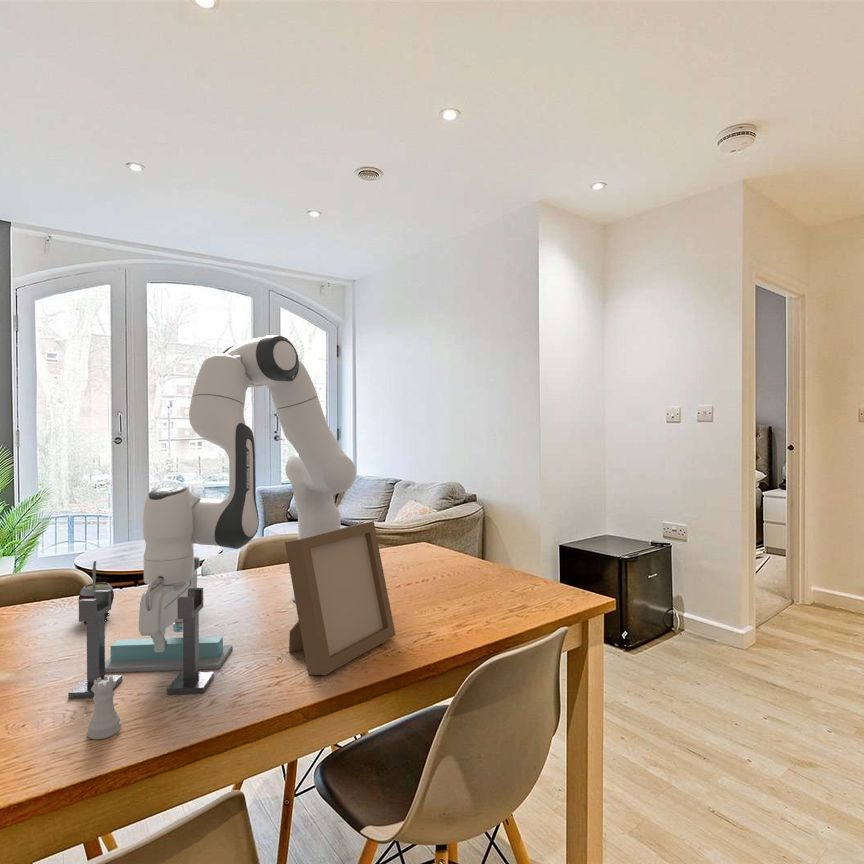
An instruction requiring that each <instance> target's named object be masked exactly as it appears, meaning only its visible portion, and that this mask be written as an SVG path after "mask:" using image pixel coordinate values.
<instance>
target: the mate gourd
mask: <svg viewBox="0 0 864 864" xmlns="http://www.w3.org/2000/svg"><path fill="white" fill-rule="evenodd" d="M91 572H92V583H90V584H86V585H84V586H83V587H82V589H80V590H81V591H80V592H79V596H78V602H79V601H80V600H81V599H94V592H95V591H96V590H111V606H112V605H113V602H114V599H115V597H114V596H115V594H114V592H115V591H114V590H113V589H114V588H113V587H112V585H111V584H110V583H108V582H104V581H102V582H96V579H97V577H96V573H97V561H96V560H95V561H93V562H92V569H91ZM108 614H109V615H110V612H109V611H108V612H106V613H105V620H107V619H108V620H109V618H107V616H106V615H108ZM108 620H107V621H108ZM84 623H87V621H86V622H83V624H84Z"/></svg>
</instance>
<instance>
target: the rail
mask: <svg viewBox="0 0 864 864" xmlns="http://www.w3.org/2000/svg"><path fill="white" fill-rule="evenodd" d="M165 640H167V648H166V649H165V650H164V651H163V652H155V651H154V642H153V640H152V638H126V639H124V638H123V639H117V640H116V641H114V642H113V643H112V644H111V645H110V657H111V661H135V660H165V659H183V637H165ZM223 645H224V637H223V636H222V635H221V636H219V635H218V636H199V658H219V656H220V655H221V653H222V652H223Z"/></svg>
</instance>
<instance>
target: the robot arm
mask: <svg viewBox="0 0 864 864" xmlns="http://www.w3.org/2000/svg"><path fill="white" fill-rule="evenodd" d="M263 386H265V387H267V388H268V390H269V392H270V395H271V397H272V401H273V405H274V409H275V411H276V414H277V416H278V419H279V423H280V425H281V428H282V432H283V434H284V436H285V438H286V439H287V441H288V442H289V443H290V444H291V445H292V447H293V448H294V450H295V451H296V452H294V453H293V454H292V455H291V456H289V457H288V459H287V461H286V465H285V474H286V477H287V479H288V481H289V482H290V484H291V489H292V492H293V497H294V502H295V506H296V511H297V512H296V513H297V536H298V537H297V539H300V538H304V537H308V536H312V535H316V534H320V533H324V532H328V531H332V530H336V529H340V528H342V525H341V518H342V517H341V513H340V510H339V508H338V507H337V505H336V503H335V500H334V496H333V495H335V494H340V493H344V492H347V491H348V490H349V489H350V488H352V486H353V484H354V482H355V480H356V479H357V478H356V477H357V469H356V465H355V463H354V462H353V460H352V459H351V458H350V457H349V456H348V455H347V454H346V453H345V452H344V451H343V449H342V447H341V446H340V444H339V443H338V441H337V439H336V438H335V436H334V434H333V432H332V430H331V429H330V427H329V424H328V423H327V420H326V417H325V414H324V411H323V408H322V405H321V403H320V399H319V397H318V393H317V390H316V387H315V385H314V383H313V380H312V378H311V376H310V374H309V372H308V370H307V368H306V367H305V365H304V364H303V362H302V361H300V360H299V355H298V351H297V350H296V347H295V346H294V345H293V343H292V342H291V341H290V340H289V339H288V338H287V337H285V336H283V335H279V334H275V335H274V334H271V335H265V336H262V337H257V338H252V339H248V340H245V341H244V342H242V343H239V344H236V345H232V346H229V347H227V348H225V350H223V351H222V352H221V353H215V354H211V355H209V356H207V357H206V358H205V359H204V360H203V361H202V364H201V366H200V368H199V371H198V373H197V376H196V380H195V382H194V386H193V390H192V394H191V395H192V396H191V401H190V405H189V411H188V419H189V424H190V426H191V428H192V430H193V431H194V432H195V433H196V434H197V435H198V436H199V437H200V438H202V439H203V440H204V441H207V442H209V443H211V444H213V445H215V446H218V447H219V448H221V449H223V450H224V451H225V453H226V455H227V457H228V463H229V464H228V466H229V469H228V472H229V474H228V475H229V476H228V481H229V482H228V483H229V484H228V485H229V486H228V489H229V490H228V496H227V497H226V498H211V497H202V496H199V495H195V494H193V493H191V492H190V489H189V488H188V487H187V486H186V485H183V484H182V485H181V484H180V485H179V484H171V485H168V486H167V485H166V486H160V487H157V488H154V489H153V490H151V491H150V492H149V493H147V495H146V498H145V502H144V506H143V514H142V536H143V539H144V543H145V548H144V552H143V557H142V559H143V582H144V583H145V584H146V585H148V586H147V590H145V591H144V592H143V593H142V594H141V597H140V601H139V611H138V631H139V632H138V633H139V634H140V635H141V636H143V637H146V636H147V637H148V636H149V637H151V638H150V639H152V640H153V642H154V651H155V652H163V651H164V650H165V649H166V648H167V640H165V638H166V637H165V636H166V635H165V634H166V629H167V628H168V627H169V626H170V625H171V624H172V623H173V624H172V631H173V632H174V633H183V619H178V615H177V599H178V598H179V597H188V589H189V588H198V569H199V568H200V566H201V565H200V562H201V561H200V560H201V559H200V557H196V556H195V554H194V553H195V552H194V551H195V550H194V551H193V548H192V544H194V545H195V544H196V545H200V546H201V545H202V546H216V547H217V546H218V547H222V548H228V549H233V550H234V549H235V550H238V549H241V548H243V547H245V546H246V545H247V544H248V543H249V542H250V541H252V539H254V537H255V536H256V535H257V533H258V530H259V523H260V519H259V511H258V505H257V498H256V497H257V496H256V490H257V489H256V488H257V487H256V446H255V436H254V433H253V431H252V429H251V427H249V426H248V425H247V424H246V421H245V414H244V413H245V412H244V411H245V405H246V403H245V402H246V398H247V397H246V395H247V390H248V388H257V387H263ZM291 599H292V600H293V601H294V602H295V596H294V591H293V592H292V596H291Z"/></svg>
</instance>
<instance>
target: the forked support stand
mask: <svg viewBox="0 0 864 864" xmlns="http://www.w3.org/2000/svg"><path fill="white" fill-rule="evenodd" d="M203 608H204V587H197V588H189V589H188V597H179V598H178V599H177V615H178V619H183V631H182V638H183V670H182V671H183V672H179V674H178V675H177V676H176V677H175V678H174V679H173V681H172V682H171V683H170V684H169V686H168V687H167V689H166V695H168V696H172V695H194V694H195V695H196V694H200V695H201V694H204V693H205V691H206V690H207V688H208V687H209V686H210V684H211V682H212V681H213V680H214V678H215V671H208V672H207V671H202V672H201V671H200V669H199V637H200V636H199V632H200V630H199V629H200V628H199V627H200V626H199V624H200V623H199V619H200V618H199V615H200V613H199V612H200V611H201V610H202V609H203ZM111 610H112V605H111V590H96V591H95V592H94V599H81V600H80V601H79V600H78V622H81V623H82V622H83V623H84V622H86V621H87V624H86V677H85V678H83V679H82V680H81V681H80V682H79V683H78V684H76V685H75V686H74V687H73V688H72V689H71V690H70V691H69V692H68V694H67V695H68V697H67V699H93V697H94V695H95V693H94V692H93V691H92V690H91V688H92V686H93V685H94V681H95V680H97V679H98V678H100V677H101V680H104V676H106V673H105V661H106V644H105V643H106V639H105V637H106V633H105V632H106V631H105V630H106V629H105V627H106V625H105V622H106V621H105V613H106V612H108V613H109V611H111ZM107 676H108V679H109V677H110V676H111V677H113V681H114V682H116V685H115V687H114V688H113V690H114V689H115V688H117V687H118V685H120V683H122V682H123V675H122V674H114V675H113V674H112V675H107Z"/></svg>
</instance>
